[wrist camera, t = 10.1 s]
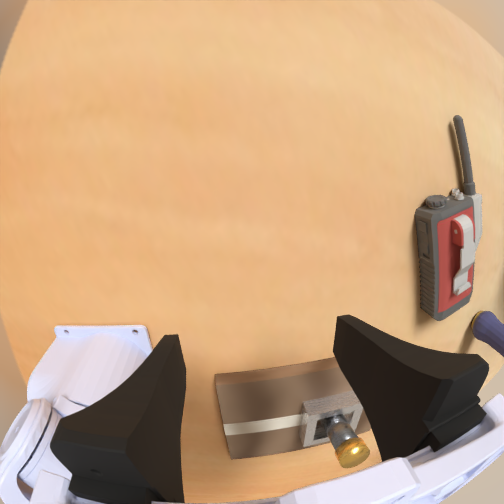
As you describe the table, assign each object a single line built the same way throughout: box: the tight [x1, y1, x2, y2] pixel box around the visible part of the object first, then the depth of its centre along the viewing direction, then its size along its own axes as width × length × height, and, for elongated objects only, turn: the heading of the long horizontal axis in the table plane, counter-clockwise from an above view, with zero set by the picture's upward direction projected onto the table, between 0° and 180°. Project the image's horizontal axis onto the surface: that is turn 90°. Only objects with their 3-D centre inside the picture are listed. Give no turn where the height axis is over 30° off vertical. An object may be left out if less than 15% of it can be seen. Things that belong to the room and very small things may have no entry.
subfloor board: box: [215, 357, 371, 459], centre depth 26 cm, size 18×14×2 cm
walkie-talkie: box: [415, 115, 482, 321], centre depth 20 cm, size 9×4×20 cm
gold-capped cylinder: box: [319, 414, 370, 468], centre depth 21 cm, size 3×3×8 cm
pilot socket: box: [299, 390, 363, 447], centre depth 25 cm, size 6×6×2 cm
